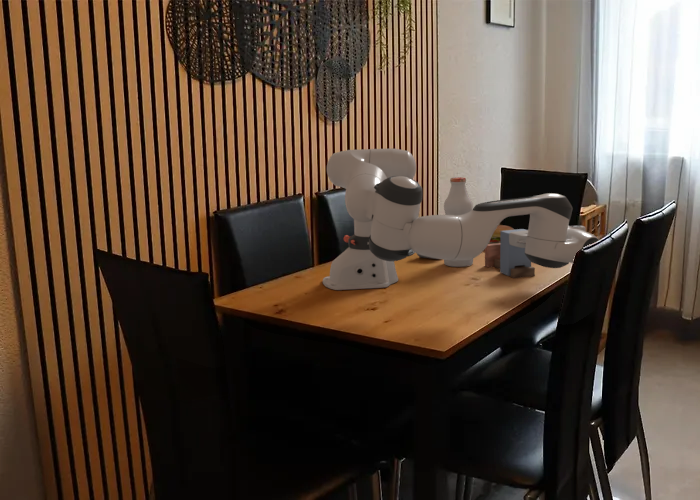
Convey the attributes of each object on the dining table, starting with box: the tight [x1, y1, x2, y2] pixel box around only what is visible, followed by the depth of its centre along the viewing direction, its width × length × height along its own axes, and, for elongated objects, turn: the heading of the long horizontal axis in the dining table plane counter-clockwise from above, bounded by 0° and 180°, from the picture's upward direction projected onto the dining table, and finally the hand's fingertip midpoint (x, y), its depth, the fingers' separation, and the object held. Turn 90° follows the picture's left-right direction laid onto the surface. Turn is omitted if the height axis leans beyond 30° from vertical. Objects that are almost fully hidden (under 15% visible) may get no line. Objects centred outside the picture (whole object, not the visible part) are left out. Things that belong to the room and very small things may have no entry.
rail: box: [484, 243, 536, 279], centre depth 216 cm, size 7×18×7 cm, turn 16°
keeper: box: [499, 228, 532, 277], centre depth 211 cm, size 8×5×13 cm, turn 106°
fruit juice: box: [443, 176, 474, 268], centre depth 225 cm, size 9×9×28 cm
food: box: [488, 224, 515, 244], centre depth 252 cm, size 14×14×8 cm
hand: (531, 232), depth 203 cm, fingers closed
